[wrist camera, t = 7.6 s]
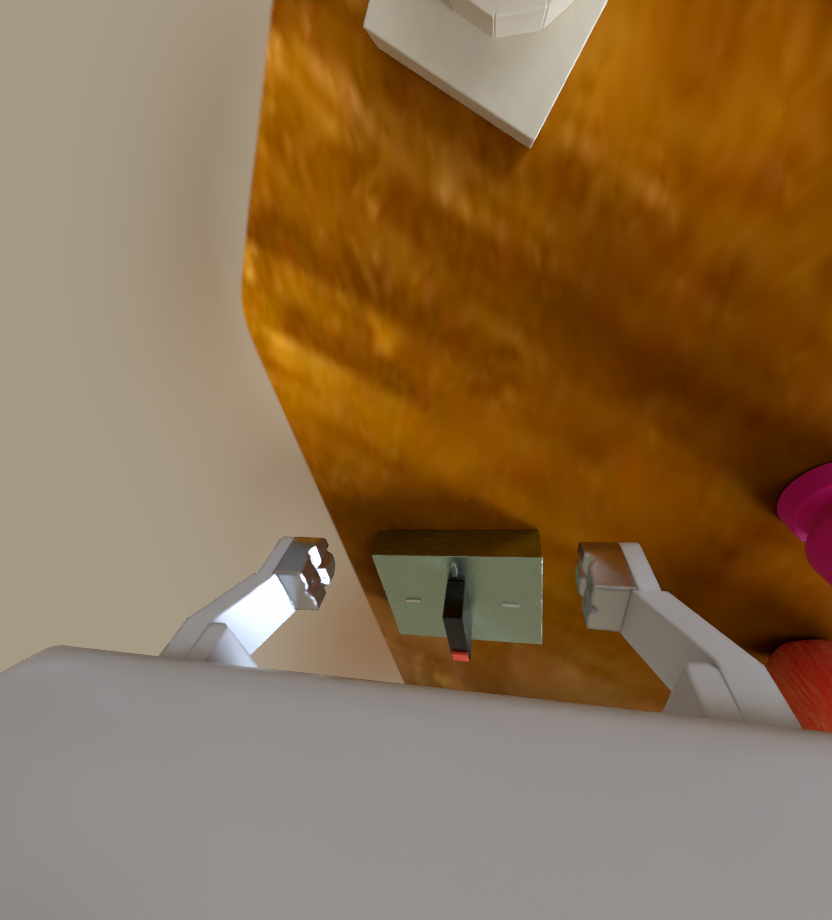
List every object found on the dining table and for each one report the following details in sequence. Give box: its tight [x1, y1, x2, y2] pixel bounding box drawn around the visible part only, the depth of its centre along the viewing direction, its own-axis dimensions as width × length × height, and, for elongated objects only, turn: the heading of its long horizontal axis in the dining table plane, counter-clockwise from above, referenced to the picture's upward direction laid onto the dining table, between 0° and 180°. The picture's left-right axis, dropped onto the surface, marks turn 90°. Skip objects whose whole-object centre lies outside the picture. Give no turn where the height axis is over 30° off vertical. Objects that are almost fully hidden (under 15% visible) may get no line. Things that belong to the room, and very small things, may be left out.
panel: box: [372, 530, 542, 644], centre depth 33 cm, size 14×12×3 cm
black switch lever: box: [442, 581, 473, 661], centre depth 31 cm, size 6×2×4 cm, turn 11°
